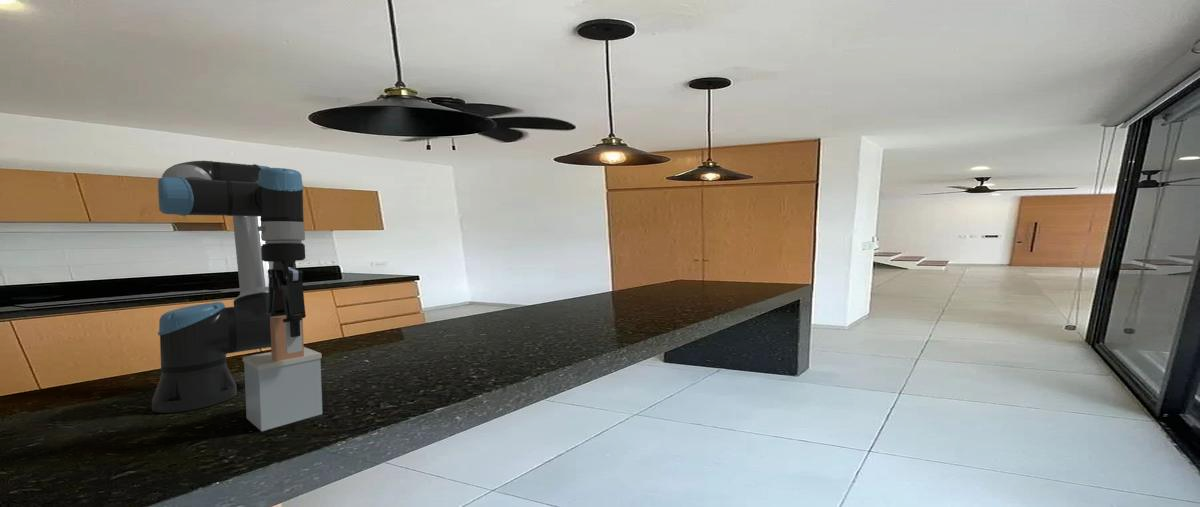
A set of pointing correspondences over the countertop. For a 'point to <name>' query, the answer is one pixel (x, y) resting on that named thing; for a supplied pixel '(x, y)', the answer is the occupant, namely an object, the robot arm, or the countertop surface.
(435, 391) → the countertop surface
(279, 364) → the lid
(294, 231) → the robot arm
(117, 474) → the countertop surface
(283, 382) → the tub
